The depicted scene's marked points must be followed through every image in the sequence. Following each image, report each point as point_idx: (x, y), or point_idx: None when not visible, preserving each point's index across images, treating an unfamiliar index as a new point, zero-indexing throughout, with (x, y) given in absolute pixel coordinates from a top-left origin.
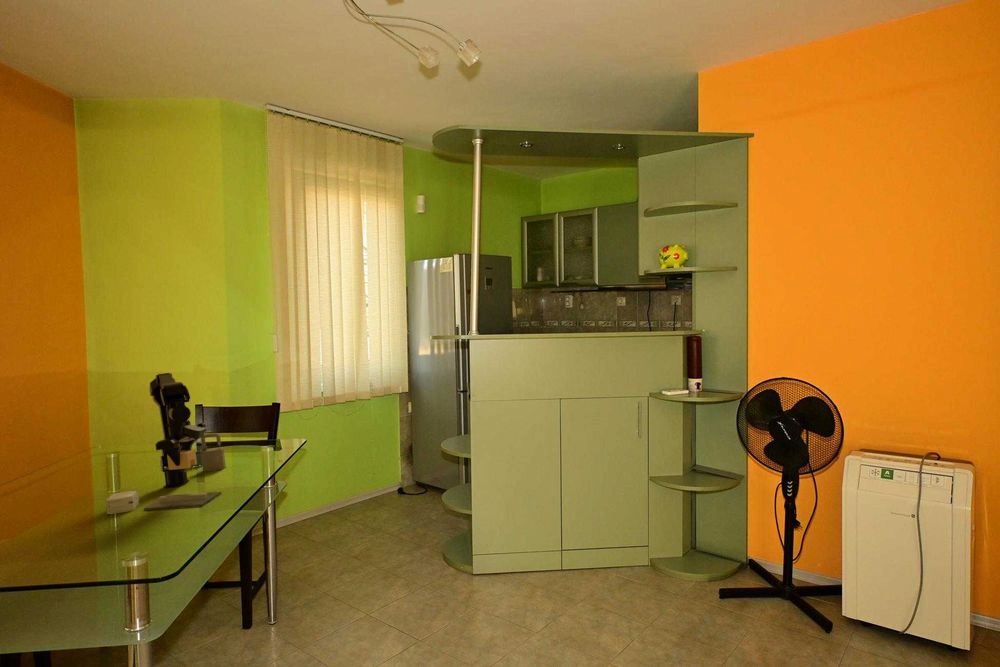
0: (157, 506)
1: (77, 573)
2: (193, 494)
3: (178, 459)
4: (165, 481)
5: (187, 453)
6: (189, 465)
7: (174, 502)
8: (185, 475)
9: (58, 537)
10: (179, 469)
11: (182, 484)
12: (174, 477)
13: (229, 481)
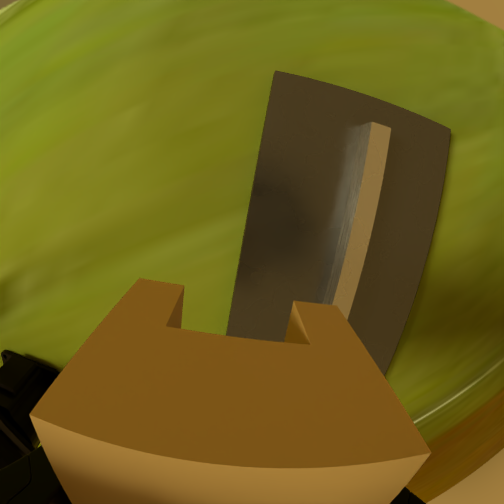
0: (385, 349)
1: None
2: (370, 200)
3: None
4: None
5: (418, 447)
6: (323, 316)
7: (368, 292)
8: (7, 371)
9: (450, 461)
10: (9, 410)
11: (41, 364)
12: None
13: (39, 129)
